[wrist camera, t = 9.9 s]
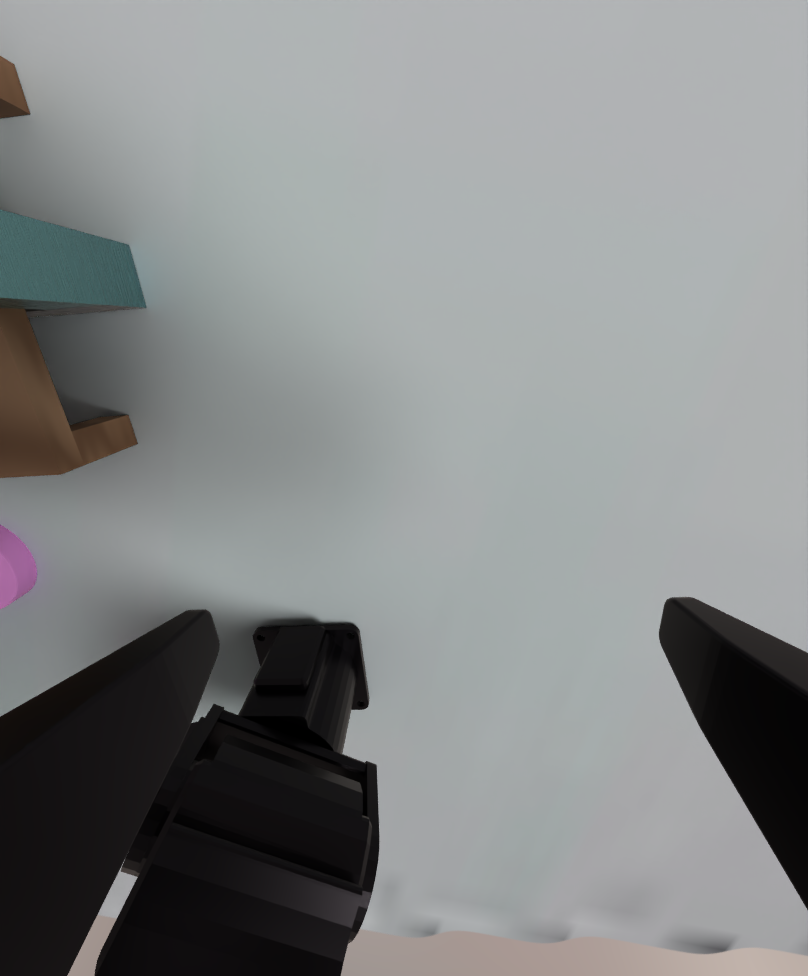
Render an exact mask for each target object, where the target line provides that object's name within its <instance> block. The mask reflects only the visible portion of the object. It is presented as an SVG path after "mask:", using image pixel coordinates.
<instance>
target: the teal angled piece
mask: <svg viewBox="0 0 808 976" xmlns="http://www.w3.org/2000/svg"><path fill="white" fill-rule="evenodd" d="M0 308H15V309H25V311H26V314H27V317H28V318H33V317H45V316H56V315H68V314H79V313H91V312H102V311H114V310H125V309H137V308H146V304H145V301H144V297H143V294H142V290H141V287H140V283H139V279H138V276H137V272H136V269H135V265H134V262H133V258H132V254H131V251H130V247H129V245H127V244H124V243H120V242H116V241H113V240H109V239H105V238H102V237H98V236H95V235H91V234H87V233H84V232H80V231H76V230H73V229H69V228H65V227H62V226H58V225H54V224H51V223H47V222H43V221H40V220H36V219H33V218H29V217H25V216H22V215H18V214H14V213H11V212H7V211H3V210H0Z"/></svg>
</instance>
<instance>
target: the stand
mask: <svg viewBox="0 0 808 976" xmlns="http://www.w3.org/2000/svg"><path fill="white" fill-rule="evenodd" d="M27 114H30V112H29V109H28V106H27V102H26V99H25V96H24V93H23V90H22V87H21V84H20V81H19V78H18V75H17V72H16V69H15V66H14V64H12V63H11V62H9V61H8V60H6V59H5V58H3V57H1V56H0V118H5V117H12V116H20V115H27ZM136 444H138V443H137V440H136V437H135V434H134V431H133V428H132V425H131V422H130V419H129V416H128V415H120V416H106V417H98V418H95V419H91V420H87V421H84V422H80V423H76V424H73V425H69V424H68V421H67V418H66V416H65V413H64V411H63V408H62V405H61V403H60V400H59V398H58V395H57V392H56V390H55V387H54V385H53V382H52V379H51V377H50V374H49V371H48V369H47V366H46V364H45V361H44V358H43V356H42V353H41V351H40V348H39V345H38V343H37V340H36V338H35V335H34V332H33V330H32V327H31V324H30V322H29V319H28V317H27V314H26V311H25V309H15V308H0V478H6V477H24V476H41V475H59V474H63V473H66V472H68V471H71V470H73V469H76V468H78V467H81V466H83V465H86V464H88V463H91V462H93V461H96V460H98V459H101V458H103V457H106V456H108V455H111V454H113V453H116V452H118V451H121V450H123V449H126V448H128V447H131V446H133V445H136Z"/></svg>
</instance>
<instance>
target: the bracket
mask: <svg viewBox="0 0 808 976" xmlns="http://www.w3.org/2000/svg"><path fill="white" fill-rule="evenodd" d="M36 578H37V568H36V564H35V561H34V558H33V556H32V554H31V553H30V551H29V549H28V548H27V547H26V545H25V544H24V543H23V542H22V541H21V540H20V539H19V538H18V537H17V536H16V535H15V534H13V533H12V532H11V531H9V530H8V529H6V528H5V527H3V526H1V525H0V609H1V608H4V607H6V606H7V605H9V604H10V603H12V602H14V601H15V600H17V599H18V598H20V597H21V596H23V595H24V594H26V593H27V592H28V591H30V590H31V589H32V587H33V586H34V584H35V582H36Z"/></svg>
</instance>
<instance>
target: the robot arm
mask: <svg viewBox="0 0 808 976" xmlns="http://www.w3.org/2000/svg"><path fill="white" fill-rule="evenodd" d="M349 633H353V635H350V634H349ZM261 635H263V636H264V637H263V636H261ZM659 639H660V643H661V646H662V648H663V651H664V653H665V655H666V657H667V659H668V661H669V663H670V665H671V668H672V670H673V672H674V674H675V676H676V678H677V680H678V683H679V685H680V687H681V689H682V691H683V693H684V695H685V698H686V700H687V702H688V704H689V706H690V708H691V710H692V712H693V714H694V716H695V718H696V720H697V722H698V724H699V726H700V728H701V730H702V732H703V733H704V735H705V737H706V739H707V740H708V742H709V744H710V746H711V747H712V749H713V751H714V752H715V754H716V756H717V757H718V759H719V761H720V762H721V764H722V766H723V768H724V769H725V771H726V773H727V774H728V776H729V778H730V779H731V781H732V783H733V784H734V786H735V788H736V790H737V791H738V793H739V795H740V796H741V798H742V800H743V801H744V803H745V805H746V806H747V808H748V810H749V812H750V813H751V815H752V817H753V818H754V820H755V822H756V823H757V825H758V827H759V828H760V830H761V832H762V834H763V835H764V837H765V839H766V840H767V842H768V844H769V845H770V847H771V849H772V850H773V852H774V854H775V855H776V857H777V859H778V861H779V862H780V864H781V866H782V867H783V869H784V871H785V872H786V874H787V876H788V877H789V879H790V881H791V883H792V884H793V886H794V888H795V889H796V891H797V893H798V894H799V896H800V898H801V899H802V901H803V903H804V905H805V906H806V908H807V910H808V653H807V652H805V651H803V650H801V649H799V648H797V647H794V646H792V645H790V644H788V643H786V642H784V641H782V640H780V639H778V638H776V637H774V636H772V635H770V634H767V633H765V632H763V631H761V630H759V629H757V628H755V627H753V626H751V625H749V624H747V623H745V622H743V621H741V620H738V619H736V618H734V617H732V616H730V615H728V614H726V613H724V612H722V611H720V610H718V609H716V608H714V607H711V606H709V605H707V604H705V603H703V602H701V601H699V600H697V599H695V598H692V597H672V598H669V599H667V600H666V602H665V604H664V609H663V614H662V619H661V624H660V629H659ZM253 640H254V644H255V648H256V651H257V655H258V659H259V663H260V666H261V667H260V669H259V671H258V673H257V675H256V677H255V679H254V684H253V686H252V688H251V690H250V692H249V694H248V696H247V698H246V700H245V702H244V704H243V706H242V709H241V711H240V713H239V715H236V714H233V713H231V712H228V711H225V710H224V707H221V706H218V705H216V704H214V705H213V706H212V708H211V709H210V711H209V712H208V714H207V716H206V717H205V718H204V717H201V718H200V720H199V721H198V722H195V723H191V722H192V720H193V718H194V715H195V713H196V710H197V708H198V705H199V702H200V700H201V697H202V695H203V692H204V689H205V687H206V684H207V681H208V679H209V676H210V674H211V671H212V668H213V666H214V663H215V661H216V658H217V655H218V652H219V646H220V644H219V638H218V635H217V631H216V628H215V625H214V622H213V618H212V615H211V613H210V612H209V611H208V610H187V611H185V612H183V613H181V614H180V615H178V616H176V617H174V618H173V619H171V620H169V621H167V622H166V623H164V624H162V625H160V626H159V627H157V628H155V629H153V630H152V631H150V632H148V633H146V634H145V635H143V636H141V637H139V638H138V639H136V640H134V641H132V642H131V643H129V644H127V645H125V646H124V647H122V648H120V649H118V650H117V651H115V652H113V653H111V654H109V655H108V656H106V657H104V658H102V659H101V660H99V661H97V662H95V663H94V664H92V665H90V666H88V667H87V668H85V669H83V670H81V671H80V672H78V673H76V674H74V675H73V676H71V677H69V678H67V679H66V680H64V681H62V682H60V683H59V684H57V685H55V686H53V687H52V688H50V689H48V690H46V691H45V692H43V693H41V694H39V695H38V696H36V697H34V698H32V699H31V700H29V701H27V702H25V703H24V704H22V705H20V706H18V707H17V708H15V709H13V710H11V711H10V712H8V713H6V714H4V715H2V716H1V717H0V976H67V975H68V973H69V971H70V969H71V967H72V965H73V963H74V961H75V959H76V957H77V955H78V953H79V951H80V949H81V947H82V944H83V943H84V940H85V939H86V936H87V935H88V932H89V930H90V928H91V926H92V924H93V922H94V920H95V918H96V916H97V914H98V912H99V910H100V908H101V906H102V904H103V902H104V900H105V898H106V896H107V894H108V892H109V890H110V888H111V886H112V884H113V882H114V880H115V878H116V876H117V874H118V872H119V870H120V868H121V866H122V864H123V866H122V869H121V872H124V873H128V874H131V875H134V876H136V877H138V878H137V880H136V882H135V884H134V886H133V888H132V890H131V892H130V894H129V896H128V898H127V900H126V902H125V904H124V906H123V908H122V910H121V912H120V914H119V916H118V918H117V920H116V922H115V924H114V926H113V928H112V930H111V932H110V934H109V936H108V938H107V940H106V942H105V944H104V946H103V948H102V950H101V952H100V955H99V957H98V960H97V964H96V969H95V976H341V971H342V966H343V961H344V957H345V953H346V949H347V945H348V943H350V942H351V941H353V939H354V938H355V936H356V935H357V933H358V931H359V929H360V927H361V925H362V923H363V920H364V917H365V914H366V912H367V909H368V905H369V902H370V898H371V895H372V891H373V886H374V881H375V877H376V870H377V864H378V855H379V816H378V790H377V766H376V764H373V763H370V762H368V761H366V762H365V763H364V762H362V761H359V760H356V759H354V758H351V757H348V756H346V755H343V754H342V753H343V748H344V743H345V738H346V733H347V728H348V723H349V718H350V713H351V710H362V709H366V708H367V707H368V705H369V692H368V685H367V678H366V671H365V665H364V658H363V651H362V644H361V637H360V631H359V629H358V628H357V627H356V626H354V625H318V626H275V627H259V628H257V629H256V631H255V633H254V635H253ZM362 701H363V702H362ZM129 849H130V850H129ZM128 851H129V852H128ZM127 853H128V854H127ZM124 860H125V861H124ZM123 862H124V863H123Z"/></svg>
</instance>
